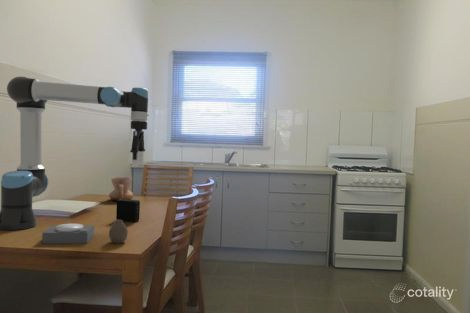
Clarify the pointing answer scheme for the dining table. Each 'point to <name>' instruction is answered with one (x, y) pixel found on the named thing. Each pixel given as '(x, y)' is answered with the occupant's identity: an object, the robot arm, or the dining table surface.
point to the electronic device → (128, 210)
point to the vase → (118, 232)
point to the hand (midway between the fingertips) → (137, 165)
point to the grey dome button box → (68, 234)
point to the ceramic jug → (121, 188)
